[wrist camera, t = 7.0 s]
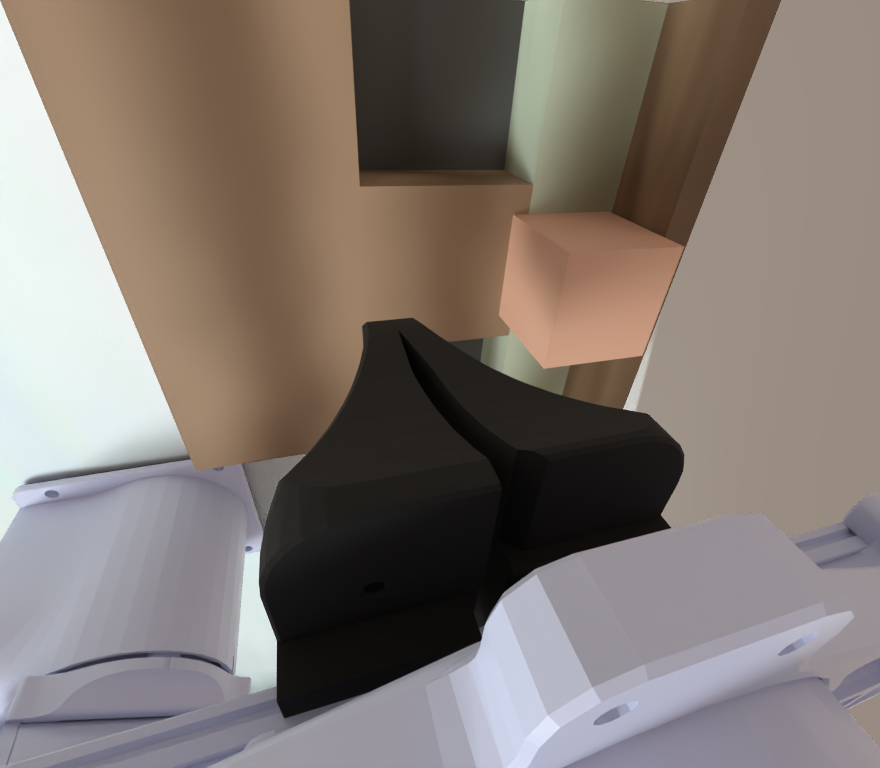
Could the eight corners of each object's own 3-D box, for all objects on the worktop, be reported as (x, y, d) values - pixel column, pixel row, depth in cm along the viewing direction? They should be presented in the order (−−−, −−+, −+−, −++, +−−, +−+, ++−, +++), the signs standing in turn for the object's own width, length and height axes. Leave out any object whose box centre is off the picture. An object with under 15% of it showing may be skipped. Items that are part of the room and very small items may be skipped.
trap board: (205, 424, 20) (182, 531, 16) (34, -49, 11) (-147, -128, 6) (547, 377, 25) (607, 449, 20) (634, 14, 15) (782, -5, 11)
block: (498, 315, 18) (543, 368, 15) (513, 214, 15) (570, 253, 12) (583, 307, 19) (642, 355, 16) (609, 211, 16) (684, 246, 13)
